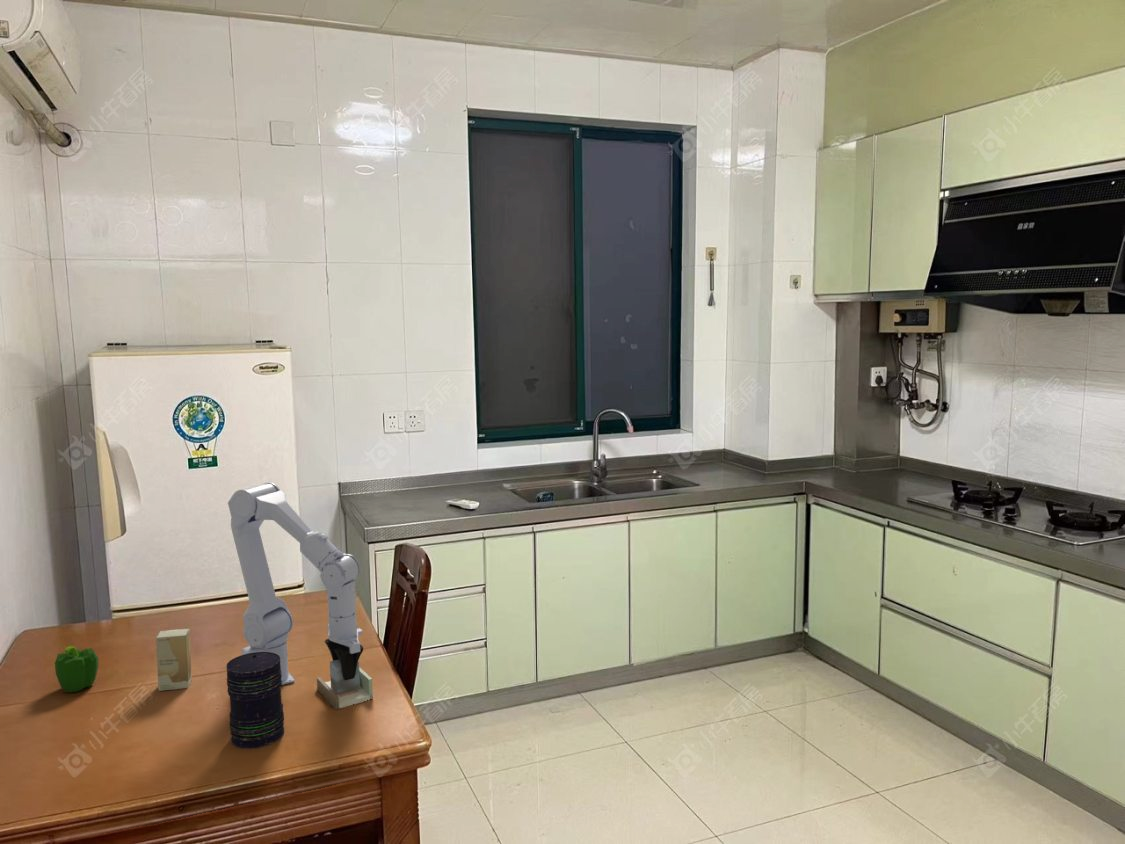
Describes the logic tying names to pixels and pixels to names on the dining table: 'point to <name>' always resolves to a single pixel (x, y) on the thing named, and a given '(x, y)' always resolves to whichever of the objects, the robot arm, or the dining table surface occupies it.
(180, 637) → the skincare box
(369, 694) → the open-front display tray
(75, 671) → the bell pepper
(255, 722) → the storage jar
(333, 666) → the slate cabinet block
